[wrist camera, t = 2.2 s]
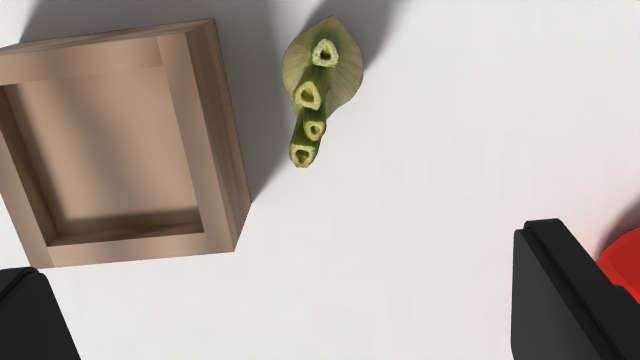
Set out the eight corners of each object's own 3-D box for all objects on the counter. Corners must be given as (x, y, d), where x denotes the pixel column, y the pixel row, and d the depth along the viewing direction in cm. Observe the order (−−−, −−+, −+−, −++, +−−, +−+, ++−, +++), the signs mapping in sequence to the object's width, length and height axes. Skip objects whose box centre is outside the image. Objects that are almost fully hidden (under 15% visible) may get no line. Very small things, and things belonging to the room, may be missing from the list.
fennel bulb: (323, -1, 31) (313, 22, 20) (383, 51, 32) (405, 101, 21) (266, 72, 33) (229, 130, 22) (325, 119, 34) (317, 196, 23)
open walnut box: (214, 18, 32) (184, 32, 26) (251, 204, 37) (233, 251, 31) (18, 43, 33) (-54, 62, 27) (80, 220, 38) (32, 269, 32)
